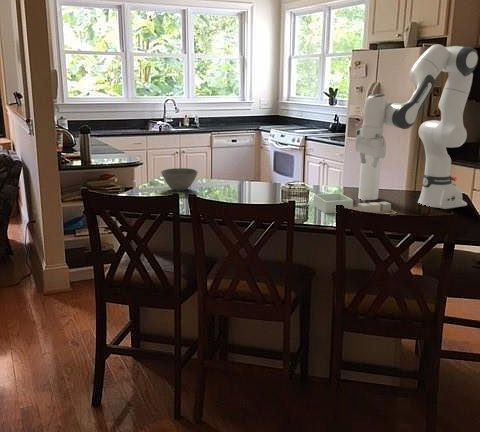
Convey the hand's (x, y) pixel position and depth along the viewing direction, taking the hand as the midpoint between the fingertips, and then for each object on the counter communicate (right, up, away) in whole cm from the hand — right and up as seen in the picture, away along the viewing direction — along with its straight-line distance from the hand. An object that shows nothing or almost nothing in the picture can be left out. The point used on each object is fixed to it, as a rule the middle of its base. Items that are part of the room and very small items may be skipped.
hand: (368, 165), depth 224 cm
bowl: (-87, -9, +46) cm, 99 cm away
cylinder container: (+8, -14, +32) cm, 35 cm away
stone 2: (+4, -20, +6) cm, 21 cm away
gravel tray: (+4, -21, +6) cm, 22 cm away
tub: (-13, -19, +12) cm, 26 cm away
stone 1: (-1, -21, +4) cm, 21 cm away
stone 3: (+9, -20, +7) cm, 23 cm away
